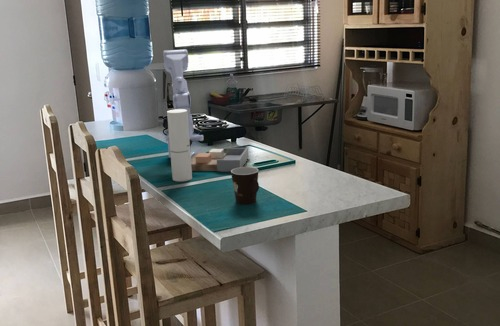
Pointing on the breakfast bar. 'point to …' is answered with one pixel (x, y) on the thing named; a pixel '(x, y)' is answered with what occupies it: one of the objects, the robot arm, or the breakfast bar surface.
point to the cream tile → (217, 153)
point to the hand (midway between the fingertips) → (186, 158)
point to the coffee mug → (245, 184)
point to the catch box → (232, 159)
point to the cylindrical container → (179, 144)
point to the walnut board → (204, 164)
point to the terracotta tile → (203, 158)
